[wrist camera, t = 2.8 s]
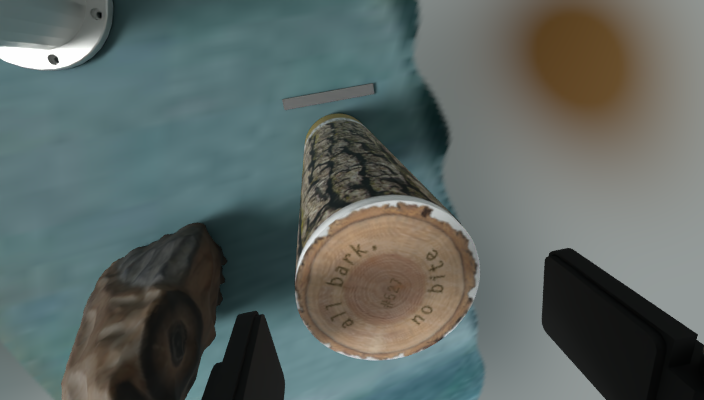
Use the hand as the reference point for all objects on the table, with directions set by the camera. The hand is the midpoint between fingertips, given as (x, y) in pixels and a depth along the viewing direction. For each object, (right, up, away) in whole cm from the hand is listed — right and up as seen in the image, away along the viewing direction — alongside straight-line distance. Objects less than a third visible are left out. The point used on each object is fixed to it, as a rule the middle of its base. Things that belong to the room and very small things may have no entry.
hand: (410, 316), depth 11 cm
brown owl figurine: (-22, -4, +27) cm, 35 cm away
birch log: (-3, +10, +25) cm, 27 cm away
